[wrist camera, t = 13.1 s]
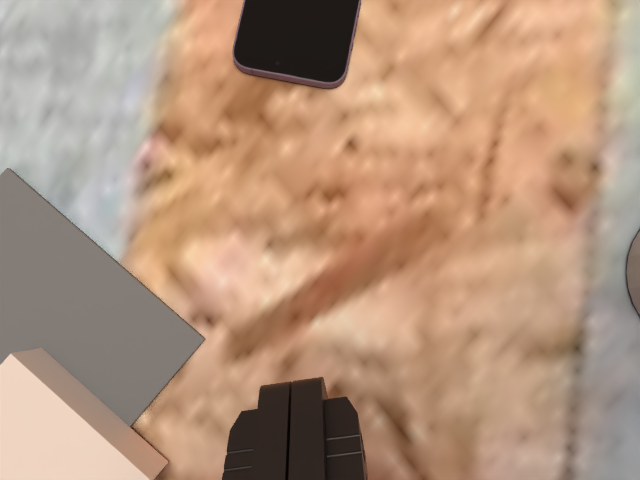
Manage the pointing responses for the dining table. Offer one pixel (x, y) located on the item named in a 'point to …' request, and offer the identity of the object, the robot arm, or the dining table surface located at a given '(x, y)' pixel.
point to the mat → (83, 306)
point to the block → (63, 428)
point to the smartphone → (297, 40)
